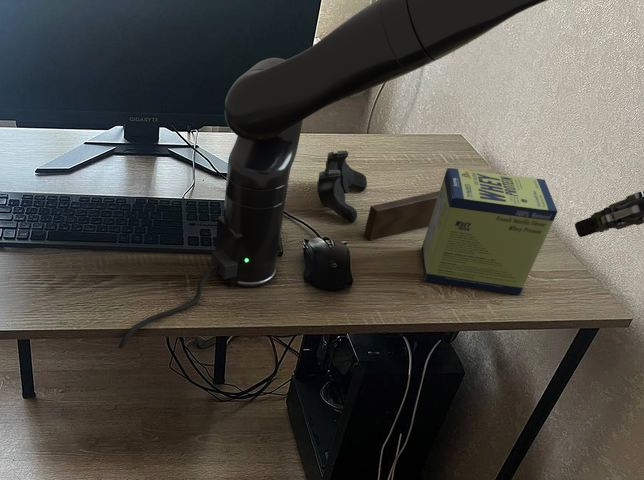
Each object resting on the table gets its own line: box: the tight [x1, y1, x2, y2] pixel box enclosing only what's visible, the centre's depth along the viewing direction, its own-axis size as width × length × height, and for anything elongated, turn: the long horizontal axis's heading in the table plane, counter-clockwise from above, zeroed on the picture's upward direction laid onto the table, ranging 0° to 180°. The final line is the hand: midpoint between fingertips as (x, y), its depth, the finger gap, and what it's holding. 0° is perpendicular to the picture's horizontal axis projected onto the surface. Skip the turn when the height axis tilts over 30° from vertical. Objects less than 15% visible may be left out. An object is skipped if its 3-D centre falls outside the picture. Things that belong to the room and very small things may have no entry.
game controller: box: [316, 150, 368, 224], centre depth 131 cm, size 16×7×10 cm, turn 161°
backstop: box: [363, 190, 440, 241], centre depth 125 cm, size 20×2×6 cm, turn 115°
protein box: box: [420, 167, 558, 296], centre depth 112 cm, size 10×16×16 cm
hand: (580, 229), depth 97 cm, fingers closed
